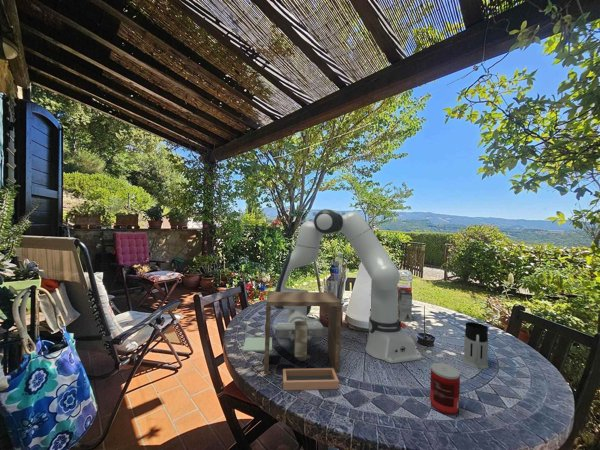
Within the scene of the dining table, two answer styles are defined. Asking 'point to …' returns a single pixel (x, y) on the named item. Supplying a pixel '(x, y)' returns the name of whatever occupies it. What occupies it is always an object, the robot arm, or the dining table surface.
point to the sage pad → (256, 344)
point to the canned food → (445, 388)
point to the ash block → (300, 339)
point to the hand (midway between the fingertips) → (300, 338)
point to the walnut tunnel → (308, 300)
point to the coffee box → (405, 305)
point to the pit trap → (310, 379)
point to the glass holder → (476, 345)
